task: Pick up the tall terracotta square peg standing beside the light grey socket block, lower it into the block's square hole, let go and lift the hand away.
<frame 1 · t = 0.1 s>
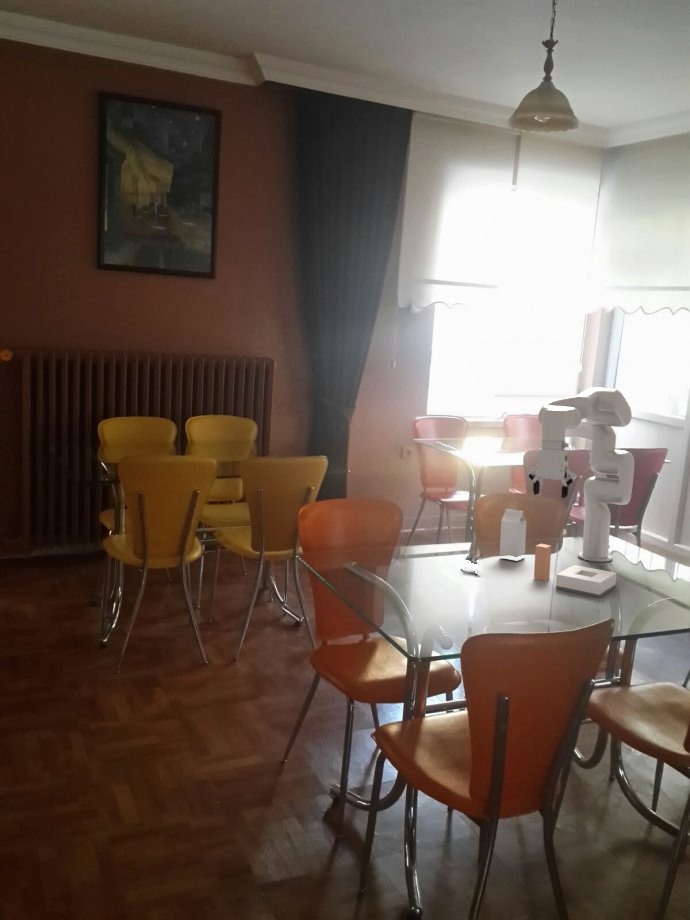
hand: (550, 495, 279), 31 cm above the table, tool pointing down, fingers open, 9 cm apart
milk carton: (512, 559, 316), on the table
socket block: (585, 587, 281), on the table
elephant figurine: (474, 572, 298), on the table
peg: (541, 578, 290), on the table
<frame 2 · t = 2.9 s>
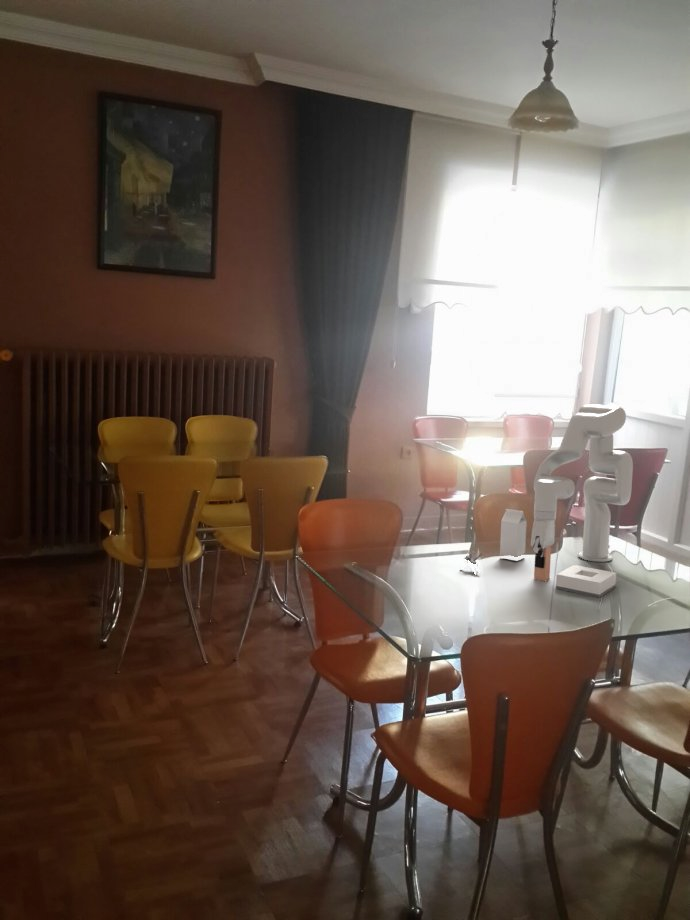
hand: (542, 565, 290), 5 cm above the table, tool pointing down, fingers closed on peg, 4 cm apart
peg: (541, 578, 290), on the table, touching gripper
everything else where it was.
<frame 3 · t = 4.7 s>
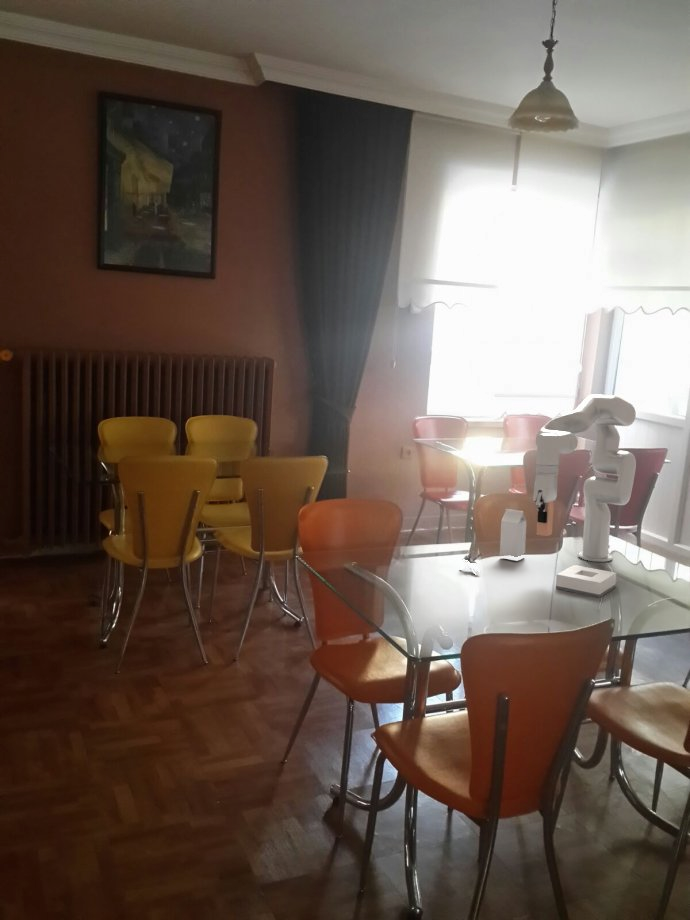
hand: (544, 520, 287), 21 cm above the table, tool pointing down, fingers closed on peg, 4 cm apart
peg: (544, 534, 288), point 16 cm above the table, touching gripper
everything else where it was.
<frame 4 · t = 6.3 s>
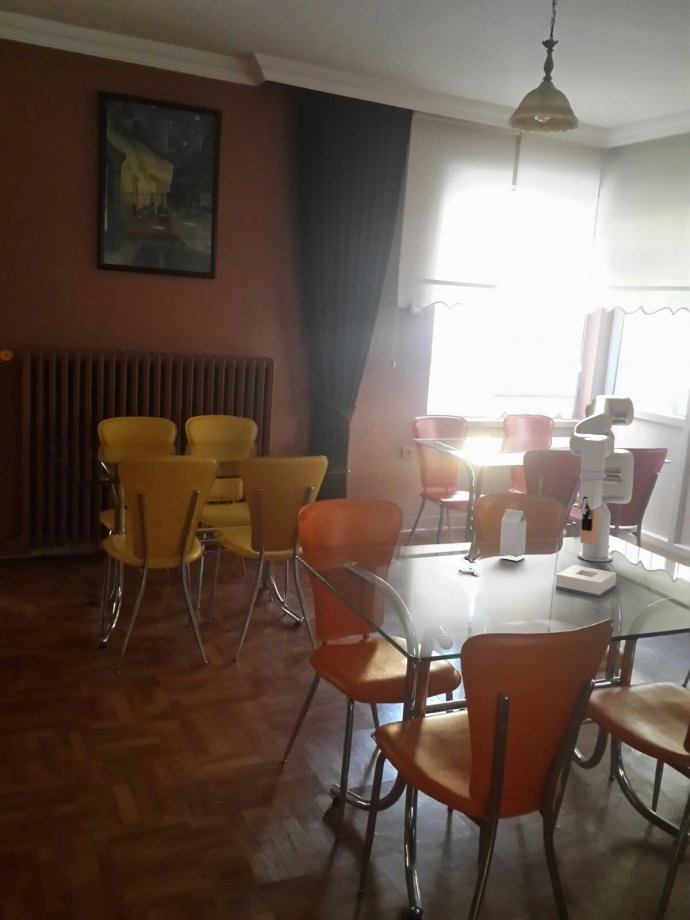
hand: (589, 528, 278), 21 cm above the table, tool pointing down, fingers closed on peg, 4 cm apart
peg: (588, 542, 278), point 16 cm above the table, touching gripper
everything else where it was.
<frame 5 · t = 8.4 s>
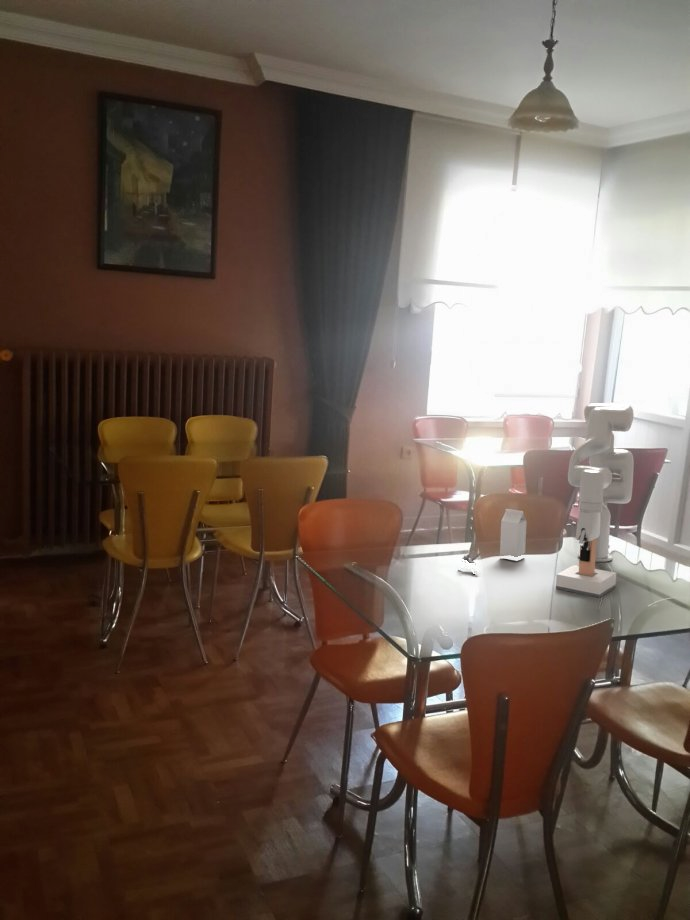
hand: (587, 559, 279), 10 cm above the table, tool pointing down, fingers closed on peg, 4 cm apart
peg: (586, 573, 280), point 5 cm above the table, touching gripper
when the fingers open (8 cm above the table, at t = 9.8 s): peg drops 2 cm, resting on socket block.
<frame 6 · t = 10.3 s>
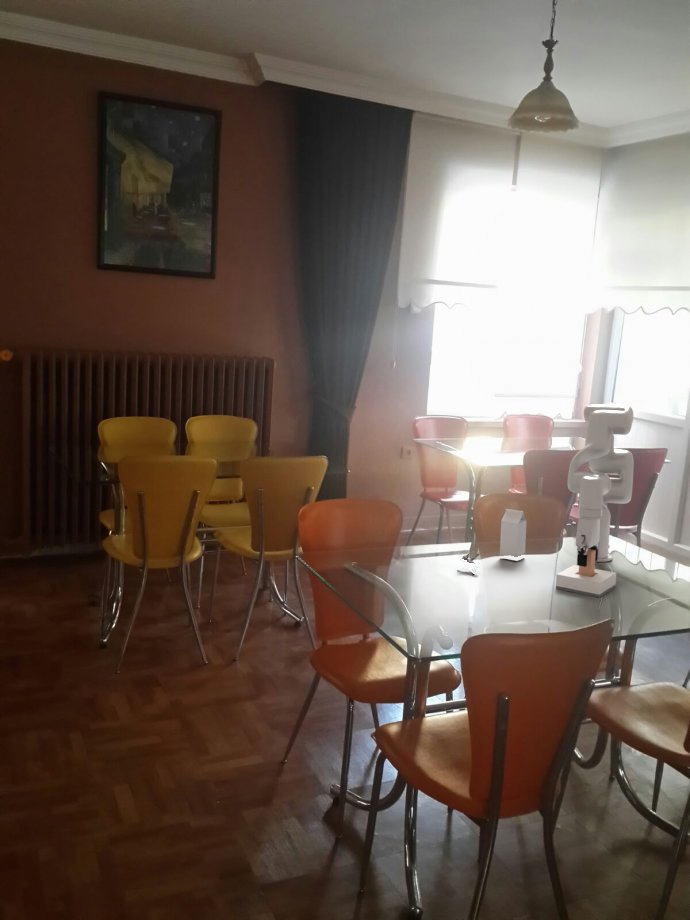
hand: (587, 562, 279), 9 cm above the table, tool pointing down, fingers open, 9 cm apart
peg: (585, 584, 281), point 1 cm above the table, touching socket block
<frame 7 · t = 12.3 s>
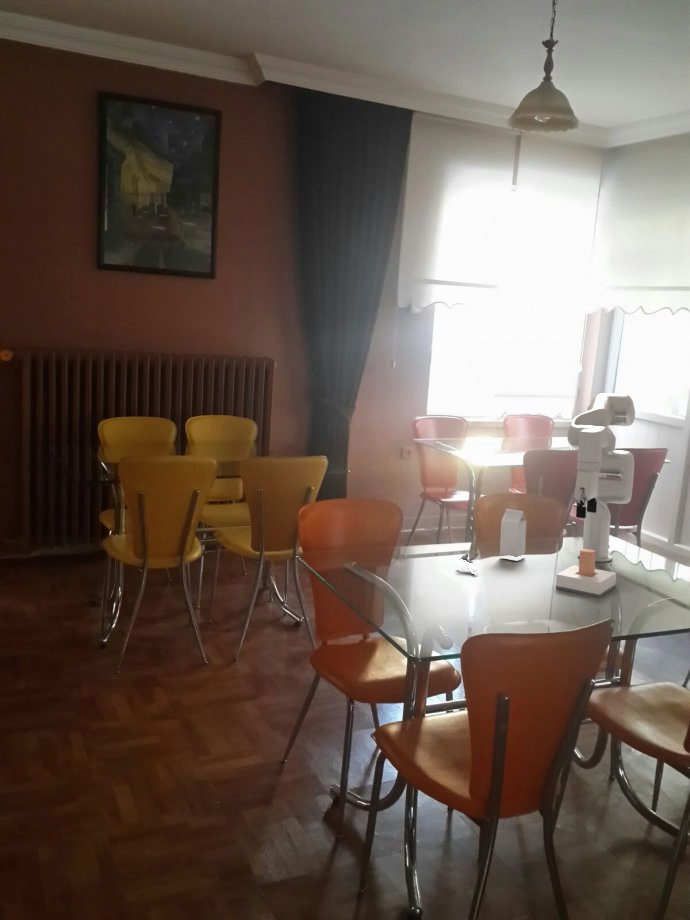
hand: (586, 514, 283), 24 cm above the table, tool pointing down, fingers open, 9 cm apart
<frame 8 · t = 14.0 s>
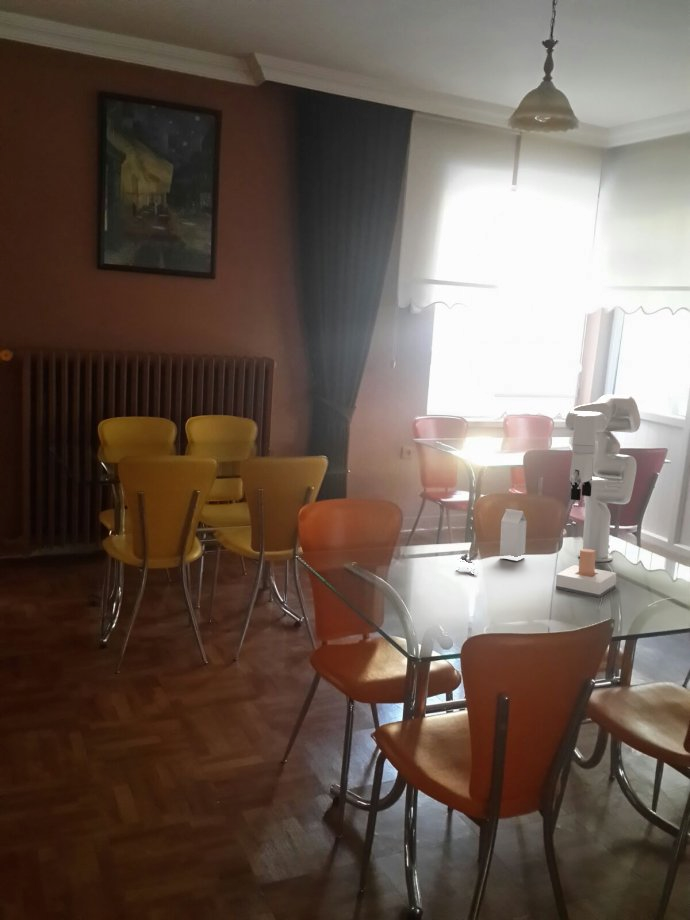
hand: (580, 497, 290), 28 cm above the table, tool pointing down, fingers open, 9 cm apart
at the end: peg 0.0 cm off-centre on the socket block, point 1.0 cm above the socket block's base; peg tilted 0°; the gripper is holding nothing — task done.
